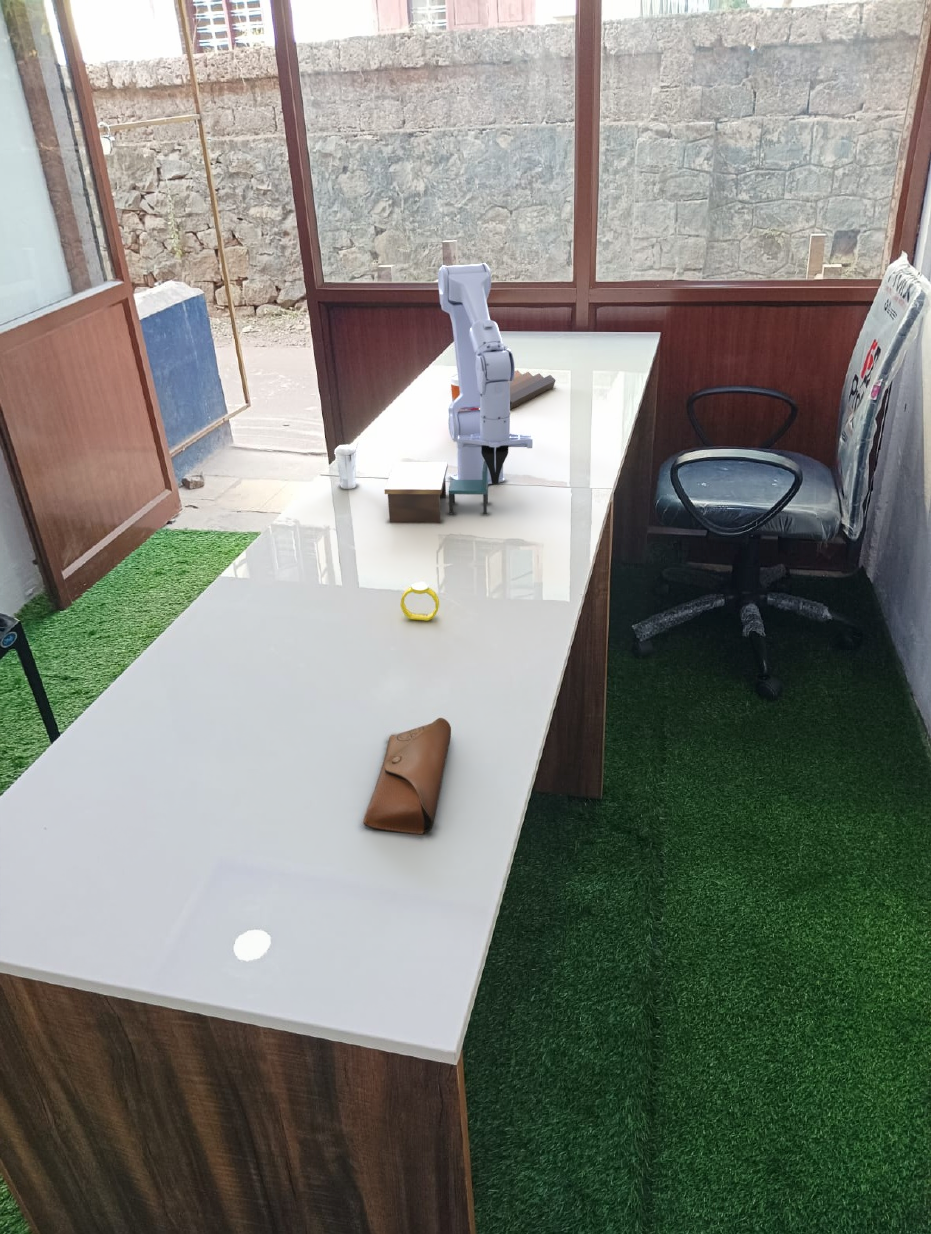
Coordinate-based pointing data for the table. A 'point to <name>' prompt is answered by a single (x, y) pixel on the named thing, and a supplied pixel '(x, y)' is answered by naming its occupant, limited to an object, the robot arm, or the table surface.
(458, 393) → the paper cup
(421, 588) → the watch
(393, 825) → the sunglasses case
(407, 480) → the desk
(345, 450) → the milkshake
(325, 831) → the table surface
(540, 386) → the pan flute
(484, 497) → the chair
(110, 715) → the table surface
